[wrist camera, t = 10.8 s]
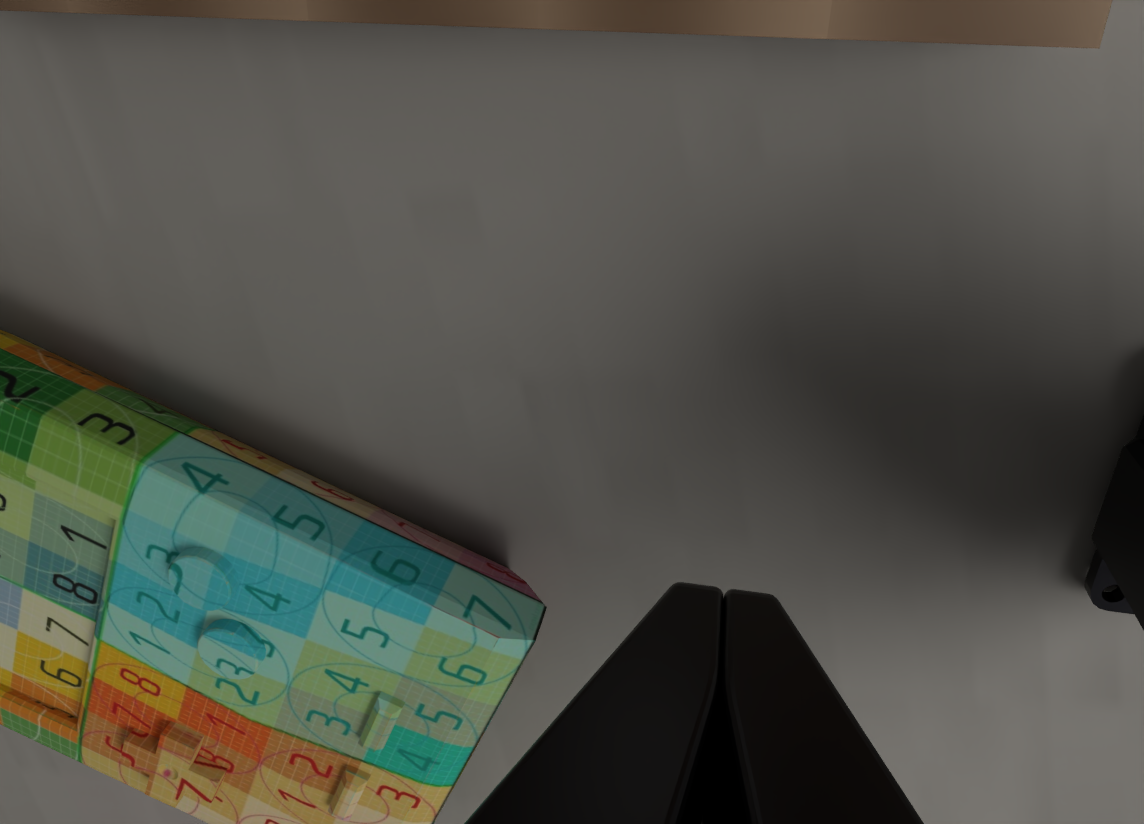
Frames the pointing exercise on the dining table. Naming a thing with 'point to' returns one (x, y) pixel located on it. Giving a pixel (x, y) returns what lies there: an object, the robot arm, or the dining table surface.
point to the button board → (673, 16)
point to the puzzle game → (233, 615)
